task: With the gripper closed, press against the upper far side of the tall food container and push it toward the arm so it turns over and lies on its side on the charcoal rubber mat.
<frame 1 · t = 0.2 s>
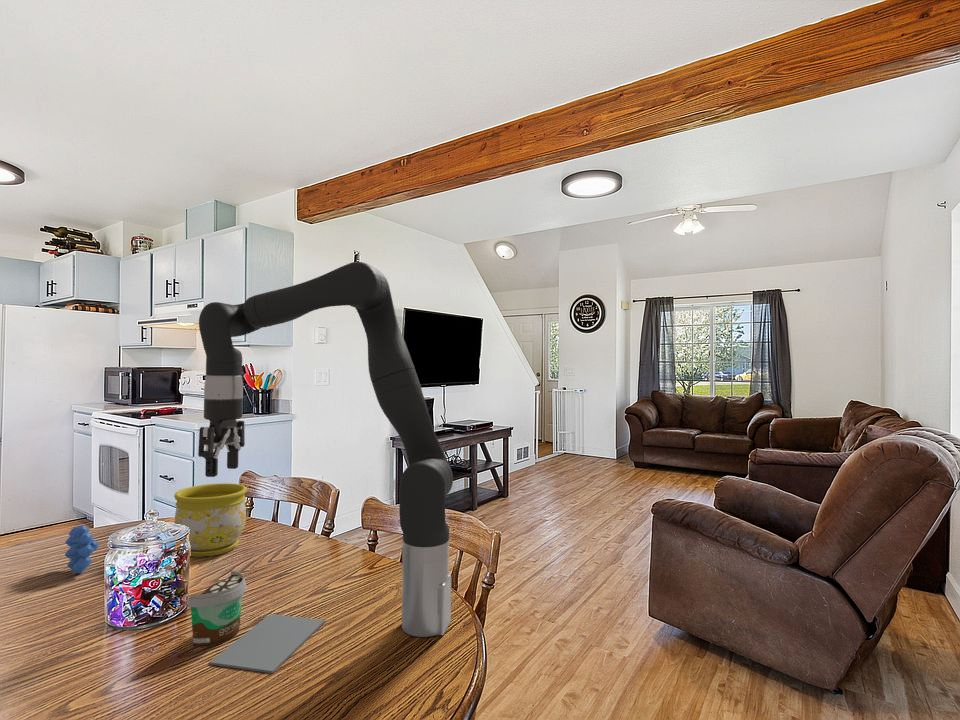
hand: (222, 472, 113), 29 cm above the table, tool pointing down, fingers open, 8 cm apart
food container: (225, 636, 101), on the table
flowerpot: (210, 549, 147), on the table
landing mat: (271, 641, 99), on the table
grapes: (83, 572, 130), on the table
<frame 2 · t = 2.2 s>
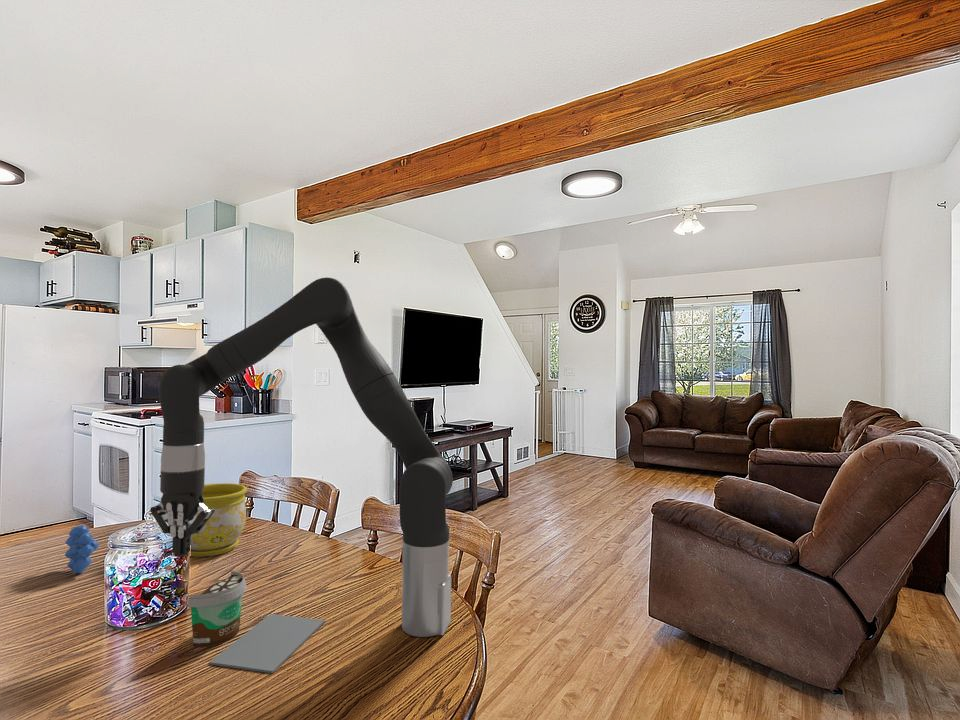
hand: (181, 555, 103), 14 cm above the table, tool pointing down, fingers closed
nothing on the table moved.
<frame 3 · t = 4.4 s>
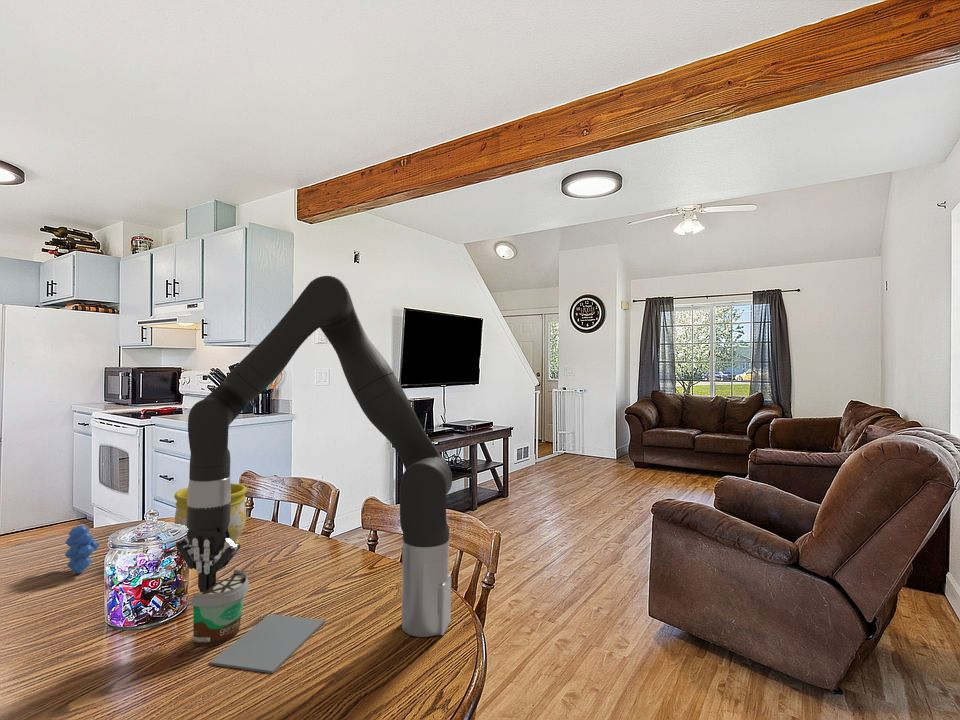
hand: (206, 591, 101), 8 cm above the table, tool pointing down, fingers closed
food container: (225, 636, 101), on the table, touching gripper
everything else where it was.
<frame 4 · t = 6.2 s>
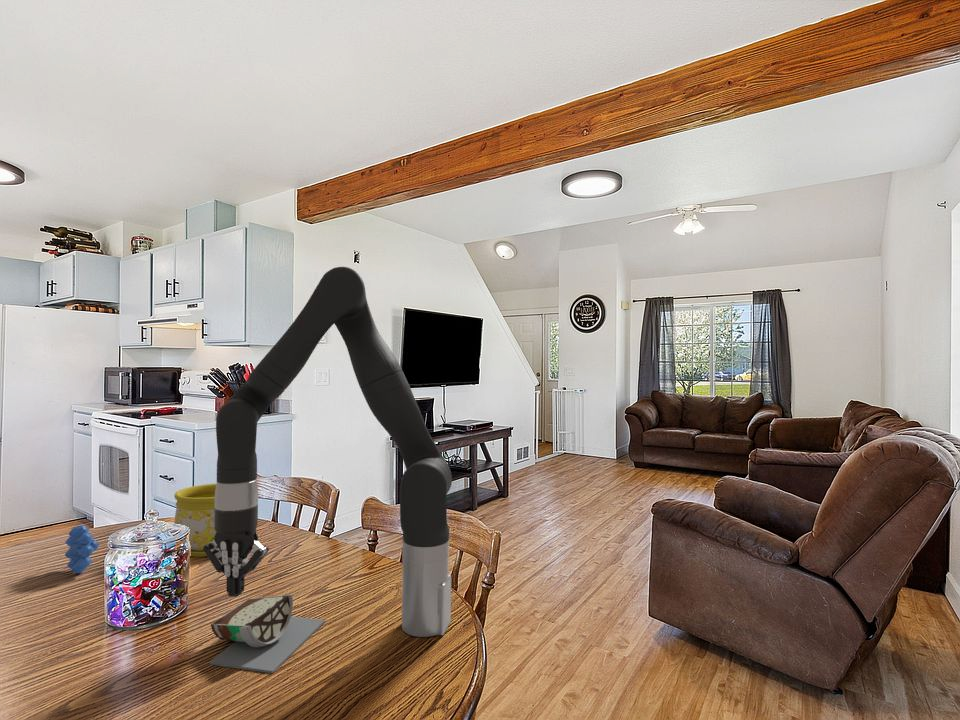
hand: (235, 594, 100), 8 cm above the table, tool pointing down, fingers closed
food container: (232, 626, 100), point 2 cm above the table, touching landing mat
everything else where it was.
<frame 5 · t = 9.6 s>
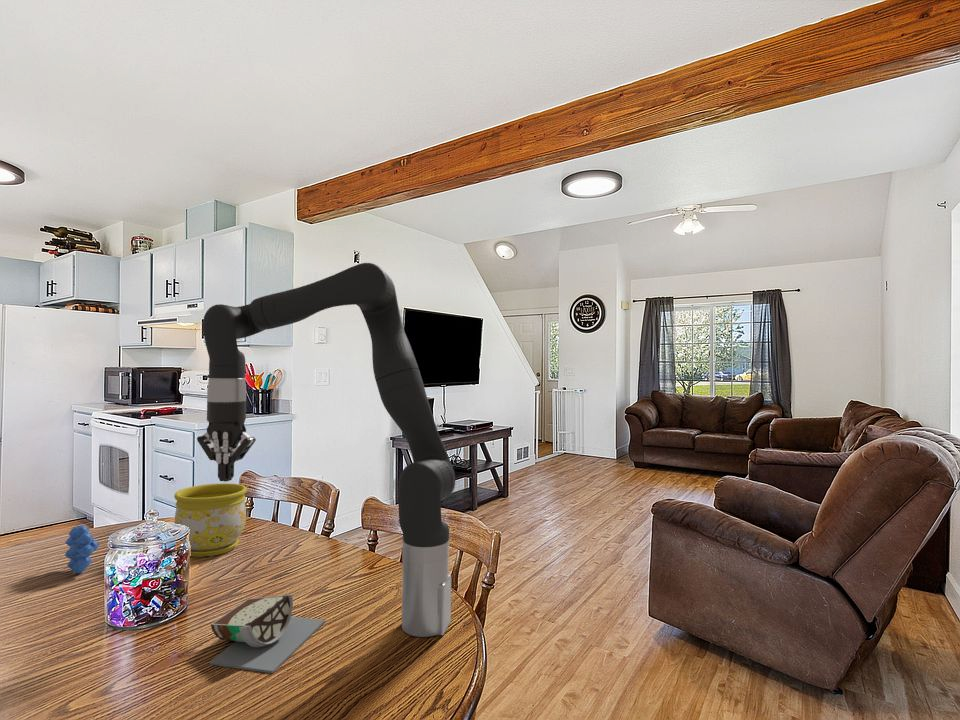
hand: (225, 480, 112), 27 cm above the table, tool pointing down, fingers closed
nothing on the table moved.
at the end: food container tilted 79°; food container inside the target area (5.6 cm from its centre), point 1.8 cm above the table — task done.
